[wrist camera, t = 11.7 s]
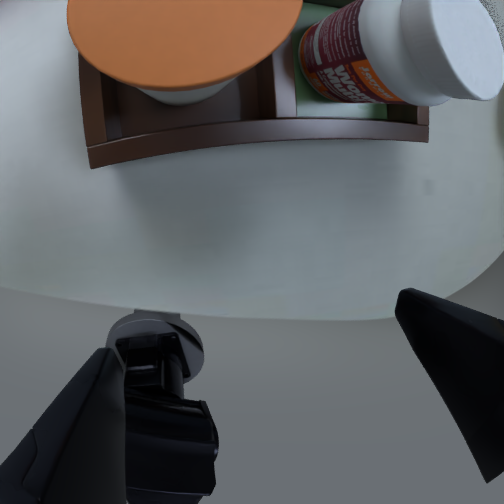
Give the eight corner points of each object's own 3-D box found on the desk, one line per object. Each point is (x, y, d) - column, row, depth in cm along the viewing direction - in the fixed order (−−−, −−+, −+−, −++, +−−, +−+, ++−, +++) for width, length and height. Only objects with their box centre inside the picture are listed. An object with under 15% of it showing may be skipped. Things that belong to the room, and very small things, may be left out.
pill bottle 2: (290, 93, 16) (417, 78, 6) (299, 11, 14) (412, -60, 4) (370, 112, 18) (507, 135, 8) (378, 37, 15) (506, 18, 5)
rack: (393, 135, 19) (428, 142, 16) (109, 158, 16) (90, 169, 13) (384, 10, 15) (417, -1, 11) (99, 8, 11) (80, -14, 8)
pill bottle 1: (239, 102, 16) (314, 81, 6) (138, 115, 15) (67, 113, 5) (233, 13, 13) (291, -85, 4) (132, 25, 12) (77, -65, 3)
